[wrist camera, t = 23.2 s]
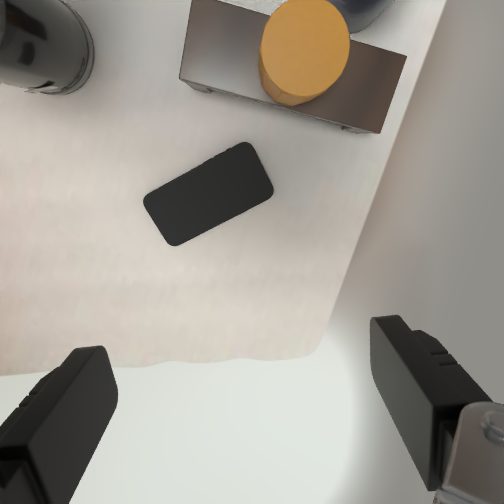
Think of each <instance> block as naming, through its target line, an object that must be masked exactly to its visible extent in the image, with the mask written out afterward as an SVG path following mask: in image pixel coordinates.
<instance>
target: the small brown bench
mask: <svg viewBox="0 0 504 504" xmlns="http://www.w3.org/2000/svg"><path fill="white" fill-rule="evenodd" d="M270 17H271V16H269V15H266V14H262V13H259V12H256V11H252V10H249V9H245V8H242V7H239V6H235V5H232V4H228V3H225V2H221V1H218V0H192V2H191V8H190V14H189V20H188V26H187V32H186V38H185V44H184V50H183V56H182V62H181V68H180V74H179V79H180V80H181V81H183V82H185V83H186V84H188V85H189V86H190V87H192V88H193V89H196V90H199V91H203V92H207V93H210V91H211V89H212V90H216V91H220V92H223V93H227V94H231V95H234V96H238V97H242V98H245V99H249V100H253V101H256V102H260V103H264V104H267V105H271V106H274V107H278V108H282V109H285V110H289V111H293V112H296V113H300V114H304V115H307V116H311V117H315V118H318V119H322V120H326V121H329V122H333V123H337V124H340V125H343V127H342V129H343V130H346V131H350V132H354V133H373V134H380V132H381V130H382V127H383V124H384V121H385V118H386V115H387V112H388V109H389V107H390V104H391V101H392V98H393V95H394V92H395V89H396V87H397V84H398V81H399V78H400V75H401V72H402V69H403V66H404V64H405V61H406V58H407V56H405V55H402V54H399V53H395V52H392V51H388V50H385V49H382V48H378V47H375V46H371V45H368V44H365V43H361V42H358V41H354V40H351V39H350V49H349V56H348V60H347V63H346V66H345V68H344V70H343V72H342V74H341V76H340V77H339V78H338V79H337V80H336V81H335V83H333V84H332V85H331V86H330V87H329V88H328V89H327V90H326V91H325V92H324V93H322V94H320V95H319V96H317V97H315V98H314V99H312V100H310V101H308V102H305V103H301V104H298V105H295V106H289V105H286V104H282V103H278V102H275V101H274V100H273V99H272V98H271V97H270V96H269V94H268V93H267V92H266V91H265V90H264V89H263V88H262V84H261V80H260V76H259V72H258V60H259V49H260V45H261V40H262V35H263V32H264V27H265V25H266V23H267V22H268V20H269V18H270Z"/></svg>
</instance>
